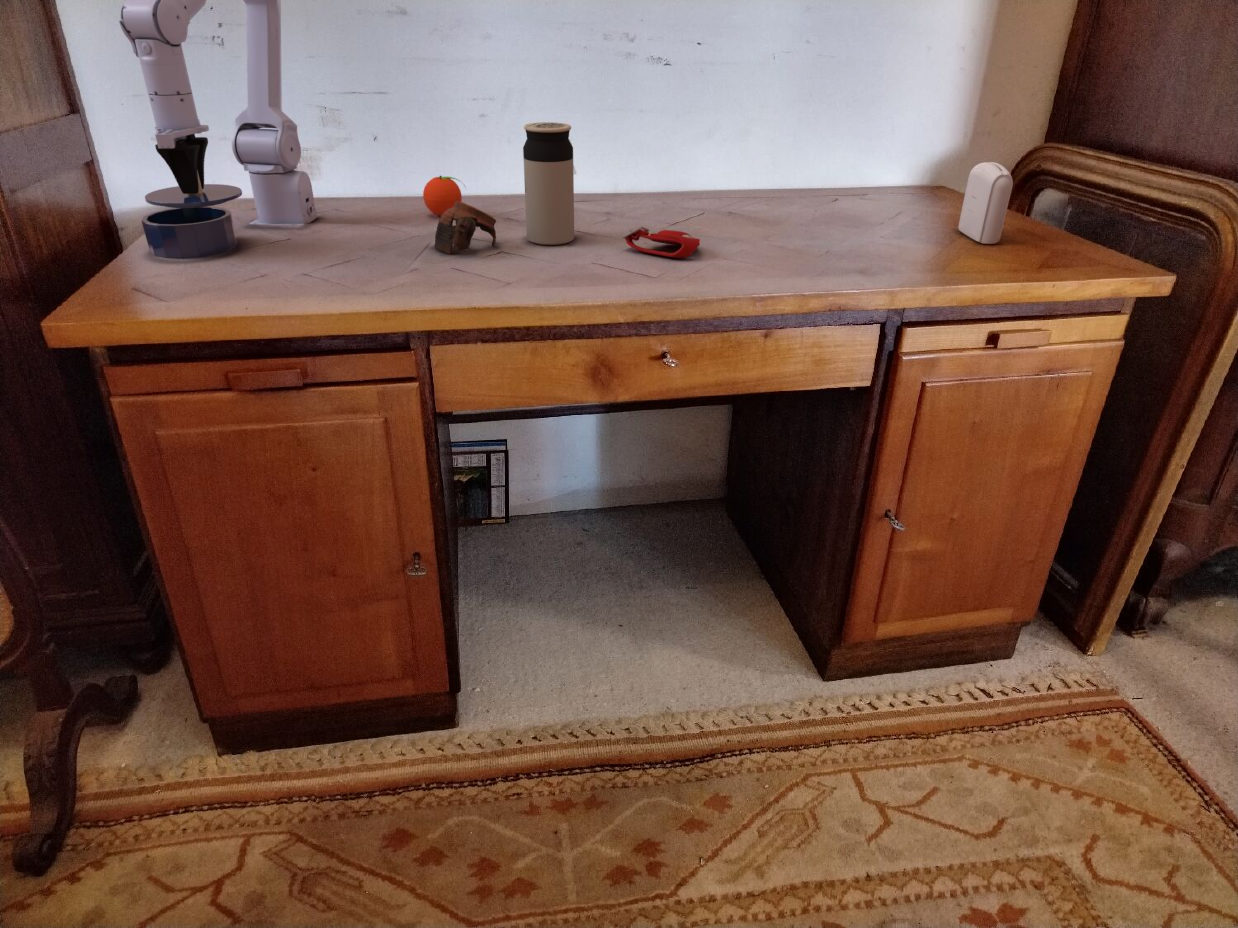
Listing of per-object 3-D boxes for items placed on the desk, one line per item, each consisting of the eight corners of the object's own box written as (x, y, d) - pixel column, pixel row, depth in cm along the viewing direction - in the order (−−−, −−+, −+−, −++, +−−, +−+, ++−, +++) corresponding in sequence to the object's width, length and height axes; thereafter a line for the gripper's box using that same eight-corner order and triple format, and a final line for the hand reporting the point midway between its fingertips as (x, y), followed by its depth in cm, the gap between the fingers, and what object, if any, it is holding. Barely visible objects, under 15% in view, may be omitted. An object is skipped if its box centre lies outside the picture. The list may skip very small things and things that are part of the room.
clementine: (464, 210, 157) (461, 170, 153) (472, 218, 151) (469, 178, 148) (422, 212, 154) (418, 173, 151) (428, 221, 149) (424, 180, 145)
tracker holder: (683, 234, 139) (715, 233, 130) (680, 261, 140) (711, 262, 131) (619, 223, 134) (648, 222, 125) (616, 251, 135) (644, 252, 126)
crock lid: (257, 192, 131) (251, 162, 129) (219, 212, 120) (212, 180, 118) (174, 190, 132) (167, 160, 130) (128, 210, 120) (119, 178, 118)
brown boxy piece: (429, 245, 137) (448, 198, 136) (482, 269, 140) (501, 223, 139) (428, 245, 126) (449, 193, 125) (486, 271, 129) (507, 221, 127)
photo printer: (953, 229, 149) (969, 157, 143) (977, 230, 149) (993, 158, 143) (977, 245, 140) (994, 169, 134) (1002, 245, 140) (1020, 169, 134)
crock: (250, 241, 136) (243, 207, 133) (215, 263, 125) (207, 226, 122) (176, 239, 136) (168, 205, 133) (135, 261, 125) (125, 224, 123)
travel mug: (582, 237, 141) (581, 124, 132) (560, 248, 135) (557, 131, 126) (541, 231, 144) (538, 120, 135) (518, 242, 138) (512, 127, 129)
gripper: (185, 99, 113) (208, 201, 119) (213, 88, 125) (233, 181, 132) (129, 99, 112) (156, 202, 118) (163, 88, 124) (186, 181, 131)
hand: (193, 191), depth 125 cm, fingers closed on crock lid, 2 cm apart
